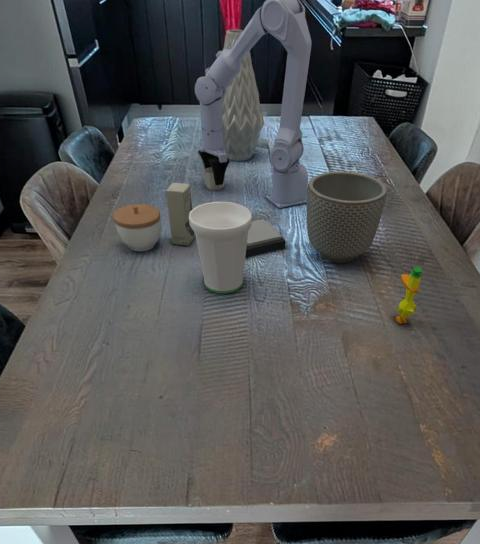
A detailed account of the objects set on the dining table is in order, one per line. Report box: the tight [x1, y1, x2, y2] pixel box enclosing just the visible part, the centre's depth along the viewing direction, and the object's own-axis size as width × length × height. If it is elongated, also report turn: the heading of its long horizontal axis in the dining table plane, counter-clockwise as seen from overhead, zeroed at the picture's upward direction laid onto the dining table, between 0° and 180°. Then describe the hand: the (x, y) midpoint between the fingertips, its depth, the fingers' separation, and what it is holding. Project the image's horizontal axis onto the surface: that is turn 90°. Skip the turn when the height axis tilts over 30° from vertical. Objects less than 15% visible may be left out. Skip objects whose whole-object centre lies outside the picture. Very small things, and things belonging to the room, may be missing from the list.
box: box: [165, 182, 196, 246], centre depth 112 cm, size 5×4×13 cm
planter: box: [306, 170, 388, 264], centre depth 108 cm, size 17×17×16 cm
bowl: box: [204, 167, 226, 191], centre depth 138 cm, size 6×6×5 cm
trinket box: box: [112, 203, 162, 252], centre depth 112 cm, size 11×11×9 cm
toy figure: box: [395, 266, 423, 325], centre depth 92 cm, size 7×4×12 cm, turn 13°
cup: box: [189, 201, 252, 294], centre depth 99 cm, size 12×12×15 cm
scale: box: [245, 218, 287, 259], centre depth 116 cm, size 12×12×3 cm
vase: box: [222, 28, 265, 162], centre depth 146 cm, size 17×17×33 cm
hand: (214, 180), depth 139 cm, fingers closed on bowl, 6 cm apart
